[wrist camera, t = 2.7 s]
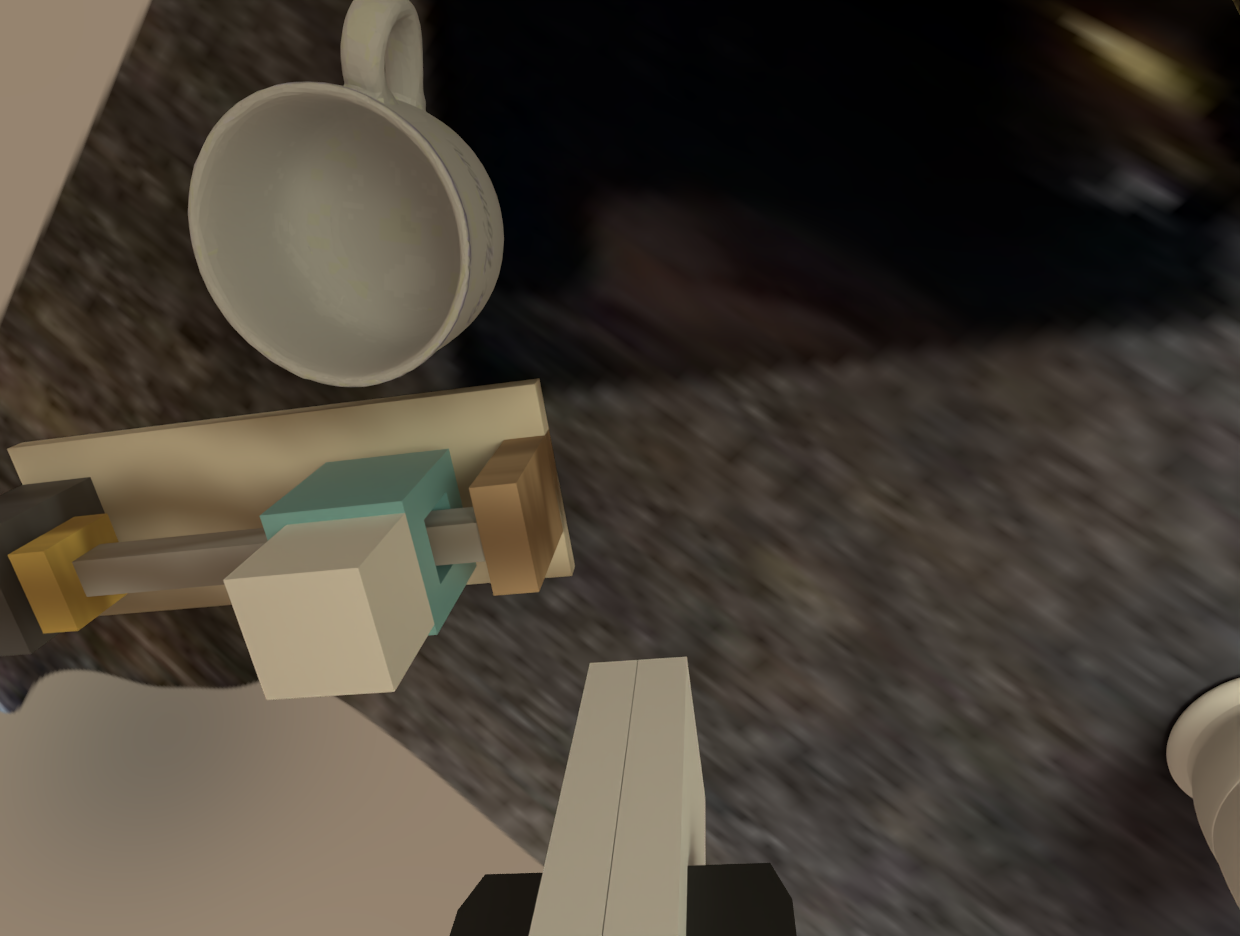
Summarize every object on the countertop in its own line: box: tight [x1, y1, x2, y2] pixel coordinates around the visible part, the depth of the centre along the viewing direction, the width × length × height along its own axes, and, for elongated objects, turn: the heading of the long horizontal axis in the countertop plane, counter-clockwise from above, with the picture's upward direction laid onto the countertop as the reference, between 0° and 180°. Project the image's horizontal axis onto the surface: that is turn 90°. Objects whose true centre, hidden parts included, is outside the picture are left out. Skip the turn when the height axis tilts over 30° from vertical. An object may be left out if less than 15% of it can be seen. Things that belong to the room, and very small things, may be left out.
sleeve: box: [223, 449, 477, 700], centre depth 34 cm, size 6×6×10 cm
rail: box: [0, 379, 575, 656], centre depth 39 cm, size 10×28×8 cm, turn 99°
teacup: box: [188, 0, 504, 387], centre depth 32 cm, size 14×11×8 cm
